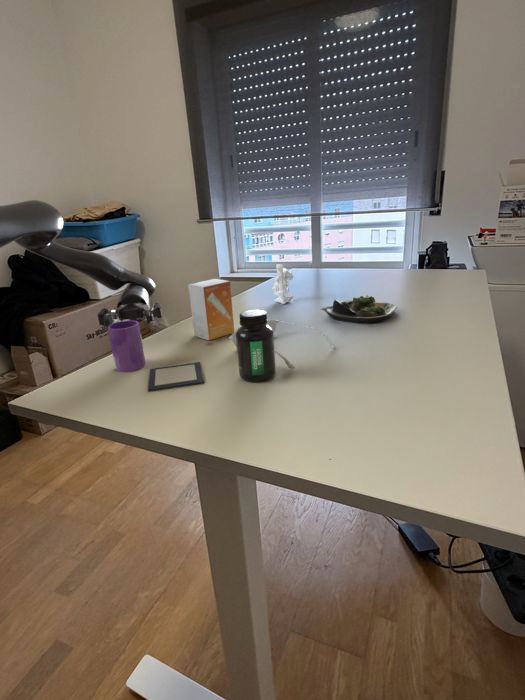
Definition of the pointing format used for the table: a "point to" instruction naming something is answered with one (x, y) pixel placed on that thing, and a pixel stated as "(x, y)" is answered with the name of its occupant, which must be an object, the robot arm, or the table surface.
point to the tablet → (175, 376)
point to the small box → (211, 308)
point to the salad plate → (360, 310)
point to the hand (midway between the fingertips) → (128, 321)
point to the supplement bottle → (255, 347)
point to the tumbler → (127, 345)
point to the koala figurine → (282, 284)
